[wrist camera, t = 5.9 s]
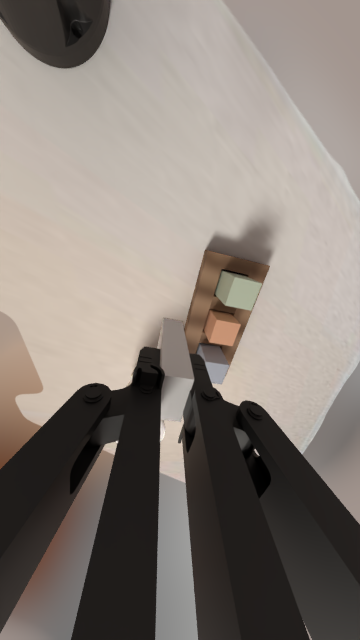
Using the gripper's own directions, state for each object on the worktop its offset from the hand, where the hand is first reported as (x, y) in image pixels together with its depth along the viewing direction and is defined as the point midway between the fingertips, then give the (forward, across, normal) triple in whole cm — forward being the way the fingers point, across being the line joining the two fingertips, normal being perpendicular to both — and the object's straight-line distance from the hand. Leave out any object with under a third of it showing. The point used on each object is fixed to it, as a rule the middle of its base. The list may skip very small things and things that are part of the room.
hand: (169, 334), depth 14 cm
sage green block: (+24, +13, +1) cm, 28 cm away
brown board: (+26, +13, -7) cm, 30 cm away
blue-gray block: (+24, +13, -16) cm, 31 cm away
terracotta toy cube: (+26, +13, -7) cm, 30 cm away
